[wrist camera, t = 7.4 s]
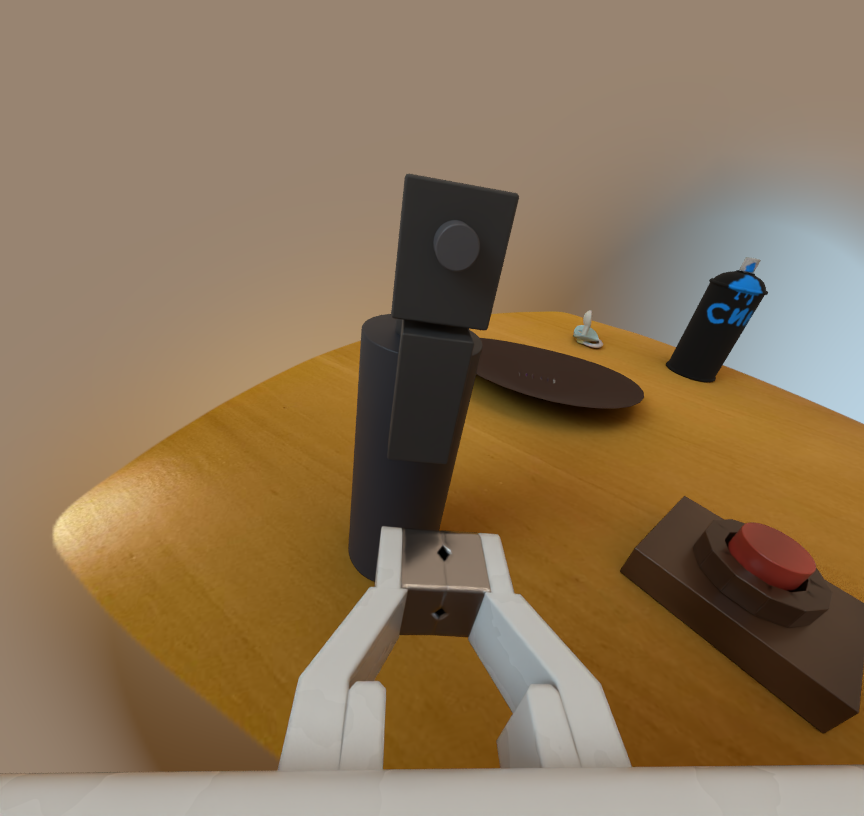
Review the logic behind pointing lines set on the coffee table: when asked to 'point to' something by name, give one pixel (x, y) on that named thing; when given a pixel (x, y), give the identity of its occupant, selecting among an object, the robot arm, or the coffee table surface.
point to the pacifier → (587, 332)
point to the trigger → (428, 390)
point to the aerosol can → (718, 323)
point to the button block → (756, 614)
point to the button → (771, 556)
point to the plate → (555, 376)
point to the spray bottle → (412, 300)
